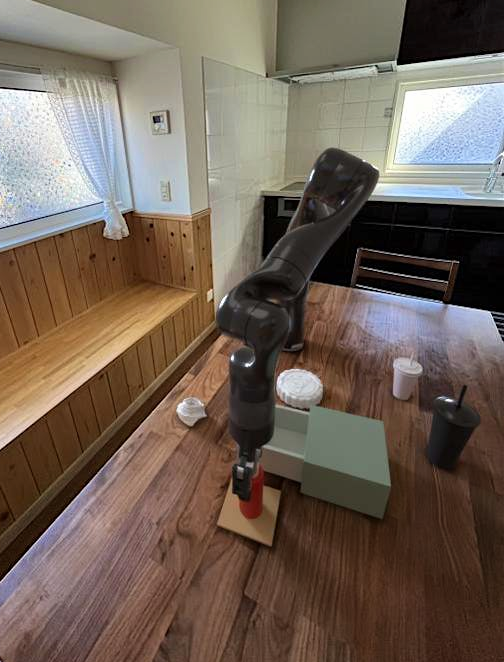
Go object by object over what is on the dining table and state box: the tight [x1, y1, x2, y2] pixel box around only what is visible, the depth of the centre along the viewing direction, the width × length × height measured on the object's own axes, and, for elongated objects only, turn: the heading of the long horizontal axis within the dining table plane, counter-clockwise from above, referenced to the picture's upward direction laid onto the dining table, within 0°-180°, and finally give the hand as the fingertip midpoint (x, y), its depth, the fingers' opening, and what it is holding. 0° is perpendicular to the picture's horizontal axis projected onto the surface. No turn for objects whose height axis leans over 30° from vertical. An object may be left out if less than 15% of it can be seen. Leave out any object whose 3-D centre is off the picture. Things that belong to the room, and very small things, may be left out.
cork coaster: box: [216, 478, 282, 548], centre depth 64 cm, size 10×10×1 cm
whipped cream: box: [176, 397, 208, 427], centre depth 85 cm, size 8×7×5 cm
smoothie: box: [392, 350, 424, 401], centre depth 85 cm, size 6×6×14 cm
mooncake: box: [275, 368, 324, 410], centre depth 90 cm, size 12×12×4 cm
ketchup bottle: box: [239, 462, 265, 519], centre depth 61 cm, size 4×4×12 cm
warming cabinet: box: [300, 405, 392, 520], centre depth 68 cm, size 15×15×9 cm
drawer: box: [258, 403, 310, 483], centre depth 72 cm, size 15×13×7 cm
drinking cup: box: [426, 384, 482, 470], centre depth 67 cm, size 8×8×20 cm
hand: (250, 475), depth 60 cm, fingers open, 8 cm apart
